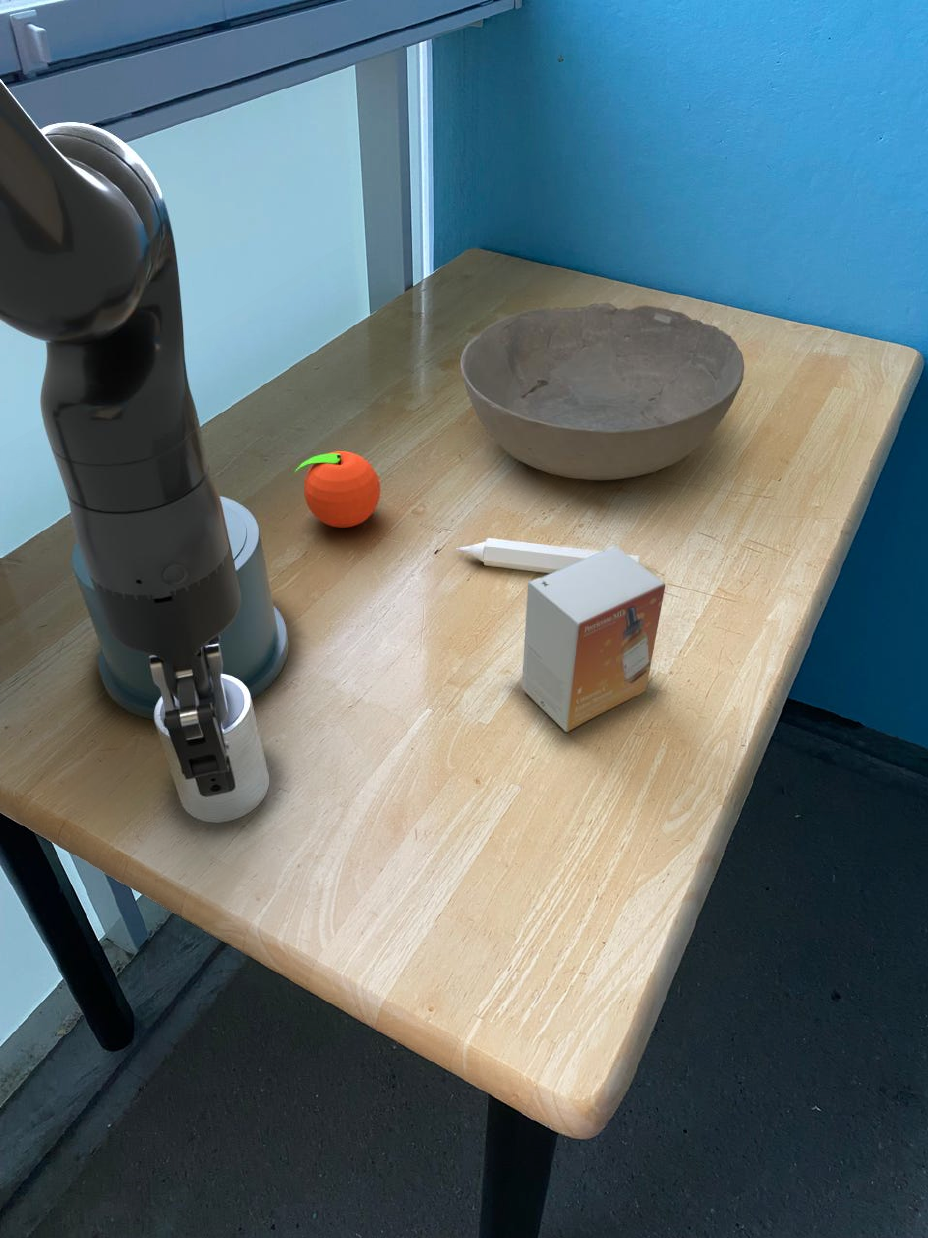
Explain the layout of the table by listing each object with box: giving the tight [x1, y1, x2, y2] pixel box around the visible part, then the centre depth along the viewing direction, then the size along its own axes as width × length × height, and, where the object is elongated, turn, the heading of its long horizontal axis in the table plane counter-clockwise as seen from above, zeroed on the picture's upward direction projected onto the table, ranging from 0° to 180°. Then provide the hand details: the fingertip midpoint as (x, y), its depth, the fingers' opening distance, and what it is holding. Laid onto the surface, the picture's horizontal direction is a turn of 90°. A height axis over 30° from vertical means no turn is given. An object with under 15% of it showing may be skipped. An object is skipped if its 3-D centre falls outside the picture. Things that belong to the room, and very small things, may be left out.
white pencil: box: [454, 537, 640, 574], centre depth 81 cm, size 3×2×16 cm
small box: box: [521, 544, 666, 733], centre depth 67 cm, size 8×6×10 cm
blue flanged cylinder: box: [71, 495, 290, 721], centre depth 70 cm, size 14×14×11 cm
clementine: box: [291, 450, 381, 529], centre depth 85 cm, size 8×7×7 cm
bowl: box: [460, 302, 745, 481], centre depth 95 cm, size 28×28×10 cm
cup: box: [153, 674, 270, 824], centre depth 61 cm, size 6×6×8 cm
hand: (214, 751), depth 61 cm, fingers closed on cup, 6 cm apart
